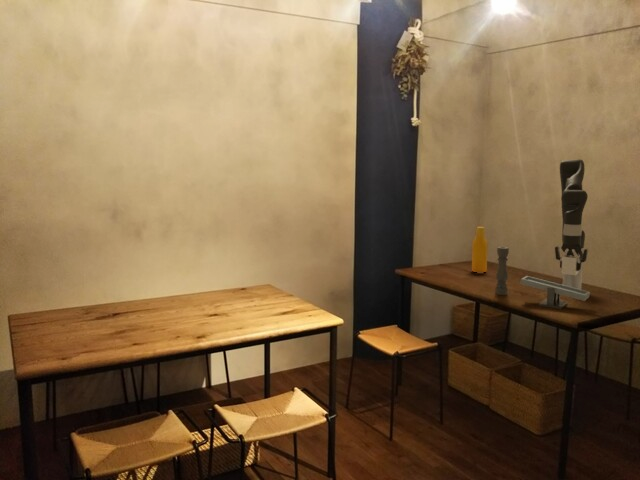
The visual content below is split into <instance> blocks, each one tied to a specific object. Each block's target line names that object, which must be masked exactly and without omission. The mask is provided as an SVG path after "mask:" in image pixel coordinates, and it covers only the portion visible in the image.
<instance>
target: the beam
mask: <svg viewBox="0 0 640 480" xmlns="http://www.w3.org/2000/svg"><path fill="white" fill-rule="evenodd" d="M519 285H523V286H527V287H530V288H534V289H538V290H542V291H544V292H547V289H548V288H552V289H555V291H554V293H556V294H560V296H565V297H568V298H572V299H576V300H579V301H583V302H586V300H587V299H589V298H590V294H591V292H590V291H588V290H586V289H585V290H584V289H582V288H581V289H577V288H573V287H569V286H565V285H563V284H562V283H561V284H560V283H557V282H553V281H549V280H546V279H545V280H544V279H541V278H537V277H533V276H529V275H526V276H524V277H522V278H521V279H520V284H519Z"/></svg>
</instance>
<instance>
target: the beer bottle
mask: <svg viewBox="0 0 640 480" xmlns="http://www.w3.org/2000/svg"><path fill="white" fill-rule="evenodd" d="M485 233H486V232H485V227H484V226H477V228H476V233H475V234H476V235H475V237H474V239H473V241H472V250H471V255H472V257H471V272H472V271H474V272H486V271H487V272H488V241H487V239H486V236H485V235H486V234H485ZM487 272H486V273H487Z"/></svg>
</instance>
